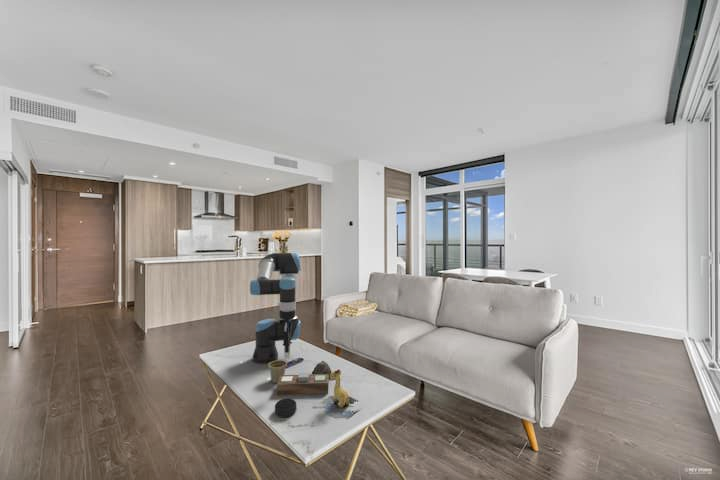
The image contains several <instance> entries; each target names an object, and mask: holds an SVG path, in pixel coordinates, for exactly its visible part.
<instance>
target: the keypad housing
mask: <svg viewBox="0 0 720 480" xmlns="http://www.w3.org/2000/svg"><path fill="white" fill-rule="evenodd" d="M318 375H326V381H315V376H318ZM283 376H293V381H292V382H281V380H282V377H283ZM298 376H299V374H284V375H281V376H280V378H279V381H278V382H276V396H285V395H286V396H288V395H290V396H291V395H292V396H293V395H294V396H295V395H322V394H323V395H325V394H329V388H330V387H329V385H330V383H329V381H330V379H329V374H312V373H311V374H310V373H309V381H308V382H298Z"/></svg>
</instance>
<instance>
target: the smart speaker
mask: <svg viewBox="0 0 720 480" xmlns="http://www.w3.org/2000/svg"><path fill="white" fill-rule="evenodd" d="M296 411H297V401H296V400H294V399H292V398H283V399H280V400H277V402H276V403H275V404H274V414H275V415H276V416H277V417H280V418H288V417H291V416H293V415H294V414H295V413H296Z"/></svg>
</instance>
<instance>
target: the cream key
mask: <svg viewBox="0 0 720 480" xmlns="http://www.w3.org/2000/svg"><path fill="white" fill-rule="evenodd" d="M292 381H293V376H283V377H282V380H281V382H292Z"/></svg>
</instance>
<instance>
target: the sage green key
mask: <svg viewBox="0 0 720 480" xmlns="http://www.w3.org/2000/svg"><path fill="white" fill-rule="evenodd" d="M315 381H326V375H318V376H315Z"/></svg>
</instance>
